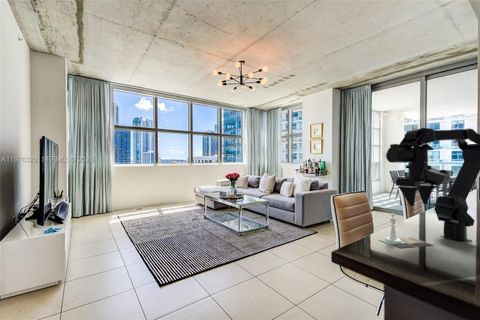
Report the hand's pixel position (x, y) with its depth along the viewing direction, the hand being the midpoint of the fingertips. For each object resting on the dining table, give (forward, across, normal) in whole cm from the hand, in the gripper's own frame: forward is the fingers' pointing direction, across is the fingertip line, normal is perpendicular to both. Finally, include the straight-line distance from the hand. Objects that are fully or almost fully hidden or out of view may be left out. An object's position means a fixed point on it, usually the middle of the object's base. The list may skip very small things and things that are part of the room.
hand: (418, 205), depth 82 cm
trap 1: (+12, -13, -2) cm, 18 cm away
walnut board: (+13, -9, 0) cm, 16 cm away
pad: (+12, -12, +3) cm, 17 cm away
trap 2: (+12, -6, -3) cm, 14 cm away
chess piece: (+12, -12, +2) cm, 17 cm away
